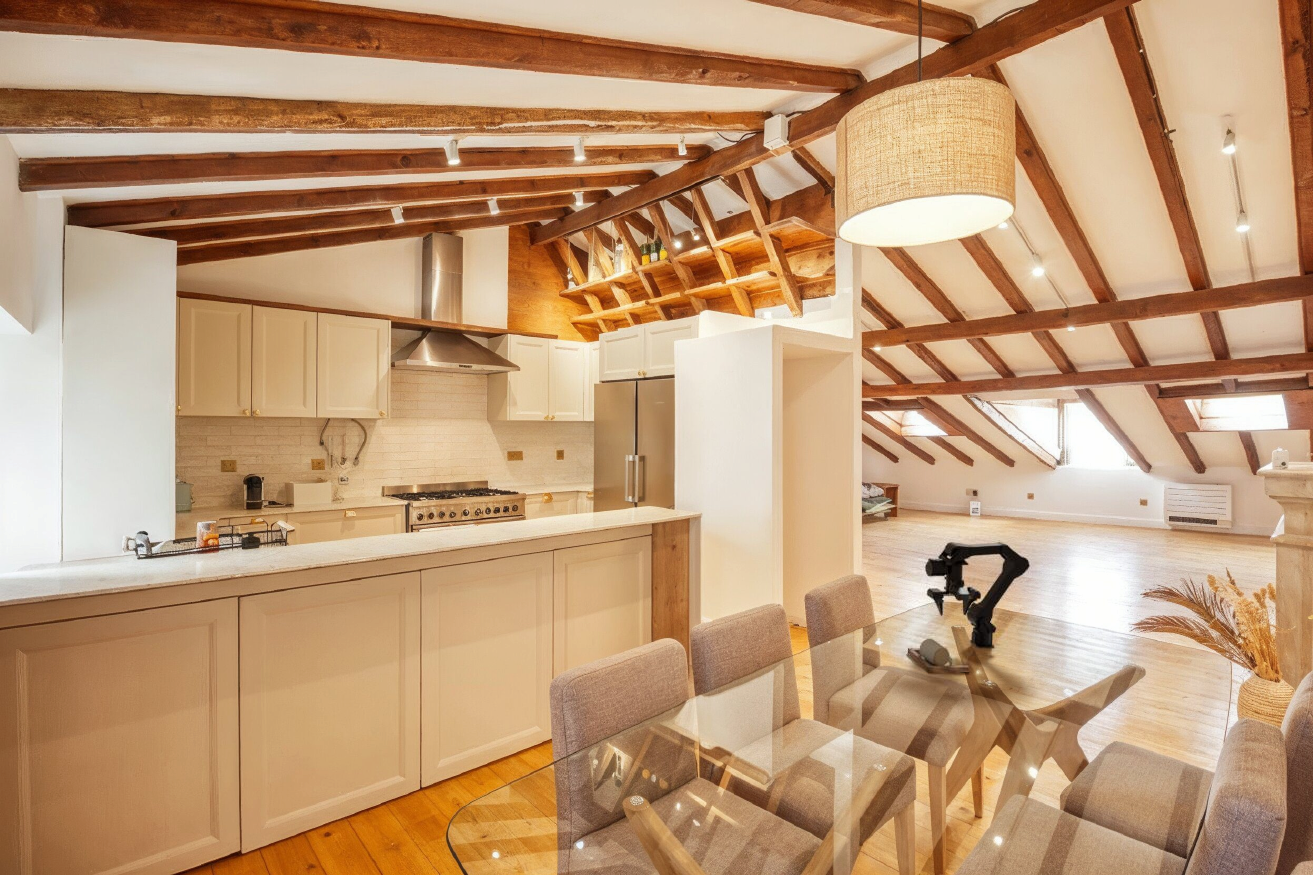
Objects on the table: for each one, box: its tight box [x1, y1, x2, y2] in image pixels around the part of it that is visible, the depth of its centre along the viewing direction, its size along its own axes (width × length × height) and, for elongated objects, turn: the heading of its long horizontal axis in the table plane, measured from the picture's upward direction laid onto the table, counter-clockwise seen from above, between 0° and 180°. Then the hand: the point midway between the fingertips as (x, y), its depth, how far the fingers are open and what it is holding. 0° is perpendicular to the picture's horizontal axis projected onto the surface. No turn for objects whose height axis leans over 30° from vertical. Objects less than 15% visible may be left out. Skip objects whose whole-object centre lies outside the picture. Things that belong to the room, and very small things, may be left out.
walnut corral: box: [907, 646, 970, 675], centre depth 231 cm, size 14×17×2 cm
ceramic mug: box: [919, 638, 954, 666], centre depth 231 cm, size 11×8×8 cm
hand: (953, 615), depth 246 cm, fingers open, 9 cm apart
